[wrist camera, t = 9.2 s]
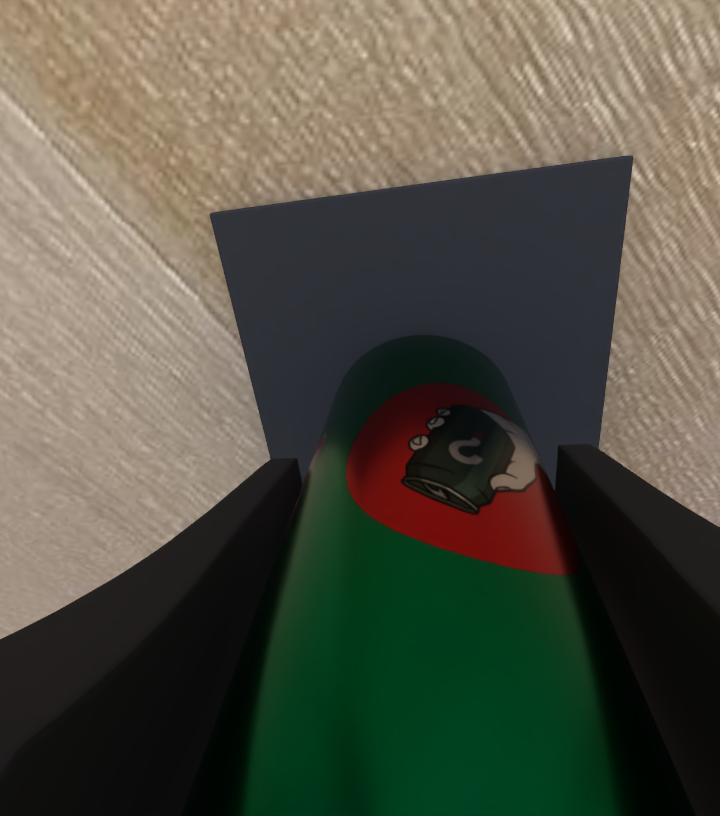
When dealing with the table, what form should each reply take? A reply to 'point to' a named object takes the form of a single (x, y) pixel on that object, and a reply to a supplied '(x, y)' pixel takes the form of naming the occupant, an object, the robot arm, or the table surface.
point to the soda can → (432, 625)
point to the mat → (434, 291)
